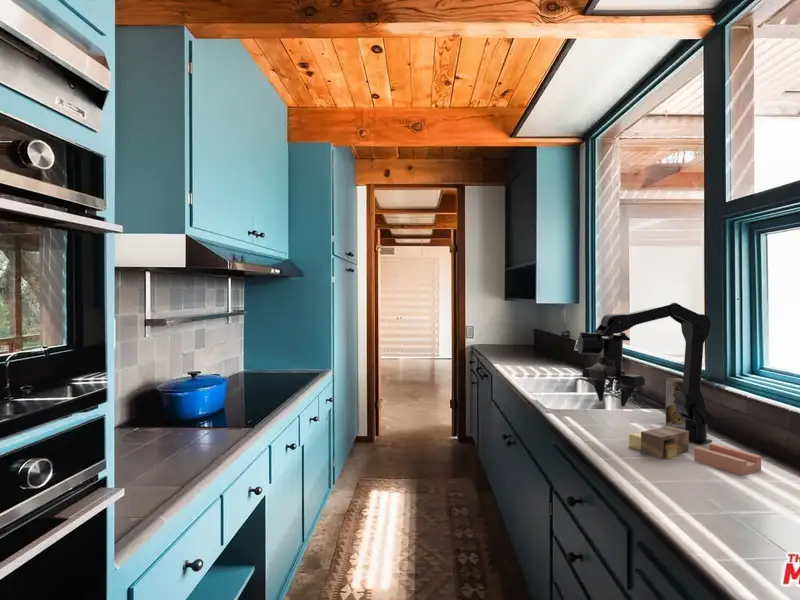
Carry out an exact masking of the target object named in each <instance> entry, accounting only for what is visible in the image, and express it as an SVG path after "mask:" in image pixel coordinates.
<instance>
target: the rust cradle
mask: <svg viewBox="0 0 800 600" xmlns="http://www.w3.org/2000/svg"><path fill="white" fill-rule="evenodd" d="M693 449H694V451H693V461H695V462H697V461H698V463H701V464H704V465H707V466H710V467H713V468H717V469H719V470H720V469H721V470H723V471H726V472H729V473H733V474H736V475H739V476H745V475H748V473H749V474H752V473H754V471H755V472H758V471H761V470H760V469H762V455H758V454H754V453H752V452H747V451H744V450H741V449H737V448H733V447H729V446H726V445H723V444H718V443H715V442H714V443H713V442H710V443H708V449H707V448H704V447H701V446H697V447H693ZM757 470H758V471H757ZM751 472H752V473H751Z"/></svg>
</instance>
